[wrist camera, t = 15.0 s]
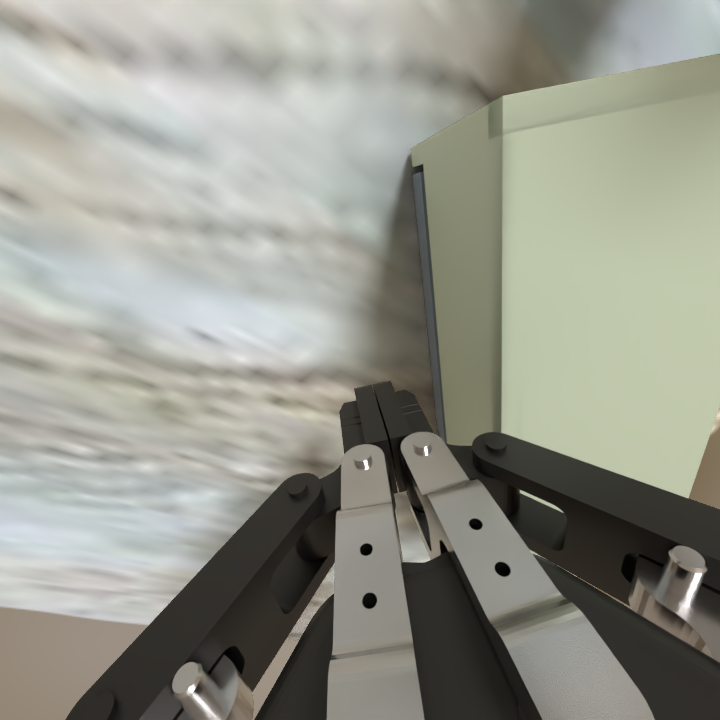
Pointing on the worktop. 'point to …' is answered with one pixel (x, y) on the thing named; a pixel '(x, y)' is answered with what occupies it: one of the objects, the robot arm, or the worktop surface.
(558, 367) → the cover
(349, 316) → the worktop surface
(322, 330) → the worktop surface
